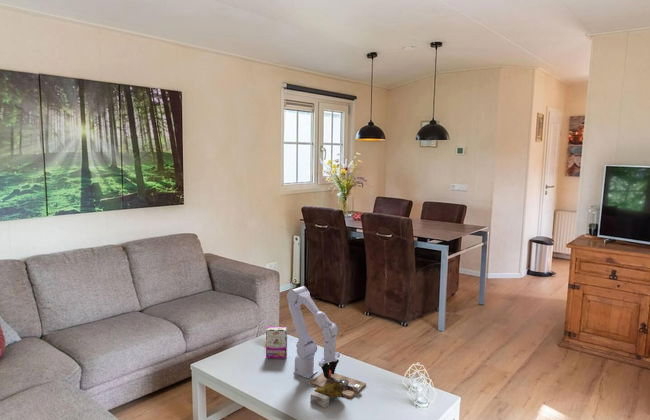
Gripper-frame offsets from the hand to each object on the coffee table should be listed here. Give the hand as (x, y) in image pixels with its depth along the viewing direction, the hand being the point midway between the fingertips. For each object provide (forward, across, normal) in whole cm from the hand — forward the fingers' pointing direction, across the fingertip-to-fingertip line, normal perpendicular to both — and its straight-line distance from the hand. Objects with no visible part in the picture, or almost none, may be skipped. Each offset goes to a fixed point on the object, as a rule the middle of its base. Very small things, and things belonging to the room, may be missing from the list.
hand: (329, 375), depth 224 cm
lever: (+2, 0, -8) cm, 8 cm away
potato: (+4, -12, -9) cm, 15 cm away
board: (+4, -6, -5) cm, 9 cm away
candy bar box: (+4, +4, +39) cm, 39 cm away
